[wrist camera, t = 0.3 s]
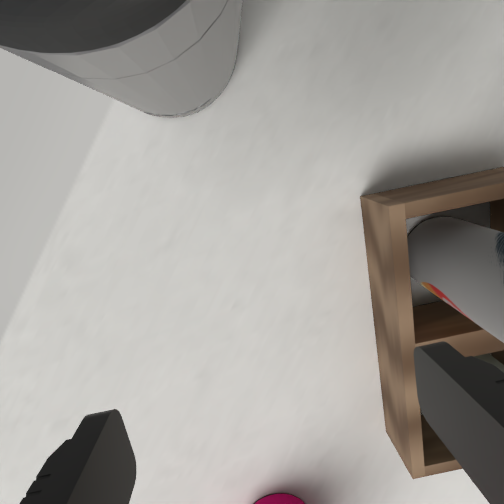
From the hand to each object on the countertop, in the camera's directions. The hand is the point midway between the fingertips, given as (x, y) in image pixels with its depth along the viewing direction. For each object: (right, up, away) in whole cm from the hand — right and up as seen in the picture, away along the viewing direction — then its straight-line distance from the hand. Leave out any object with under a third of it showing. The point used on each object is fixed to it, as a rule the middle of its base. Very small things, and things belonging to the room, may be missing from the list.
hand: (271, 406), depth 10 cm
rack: (+15, -1, +21) cm, 26 cm away
